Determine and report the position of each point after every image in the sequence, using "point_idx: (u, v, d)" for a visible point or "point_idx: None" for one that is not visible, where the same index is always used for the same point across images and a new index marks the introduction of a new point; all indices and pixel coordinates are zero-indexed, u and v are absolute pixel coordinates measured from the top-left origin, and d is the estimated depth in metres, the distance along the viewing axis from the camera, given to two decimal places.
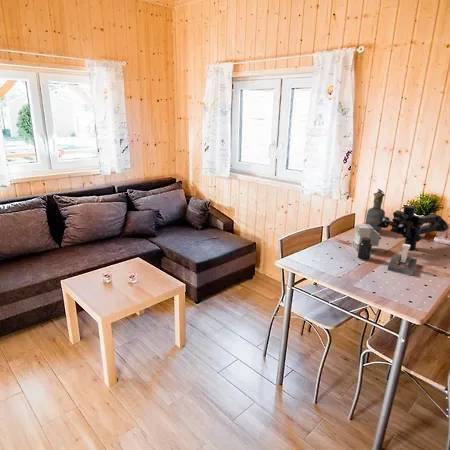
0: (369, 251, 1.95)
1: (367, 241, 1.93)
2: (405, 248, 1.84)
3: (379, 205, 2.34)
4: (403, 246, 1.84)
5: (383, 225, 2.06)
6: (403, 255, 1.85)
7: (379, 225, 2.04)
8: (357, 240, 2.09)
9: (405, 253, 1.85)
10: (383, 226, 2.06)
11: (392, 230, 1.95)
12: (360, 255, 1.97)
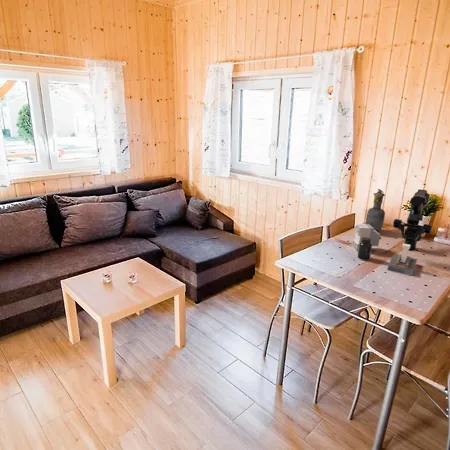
0: (369, 251, 1.95)
1: (367, 241, 1.93)
2: (405, 248, 1.84)
3: (379, 205, 2.34)
4: (403, 246, 1.84)
5: None
6: (403, 255, 1.85)
7: (403, 236, 1.93)
8: (357, 240, 2.09)
9: (405, 253, 1.85)
10: None
11: (416, 238, 1.89)
12: (360, 255, 1.97)
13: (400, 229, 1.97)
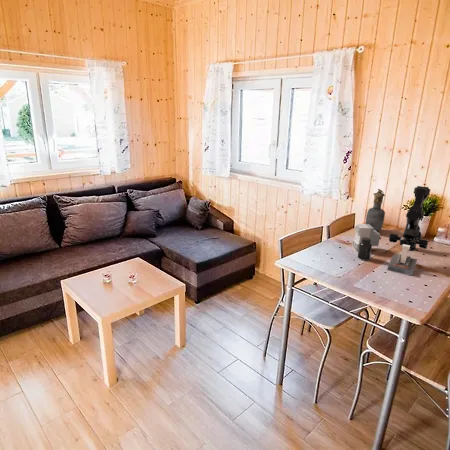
0: (369, 251, 1.95)
1: (367, 241, 1.93)
2: (405, 249, 1.83)
3: (379, 205, 2.34)
4: (403, 247, 1.83)
5: None
6: (403, 256, 1.85)
7: None
8: (357, 240, 2.09)
9: (405, 254, 1.84)
10: None
11: None
12: (360, 255, 1.97)
13: None
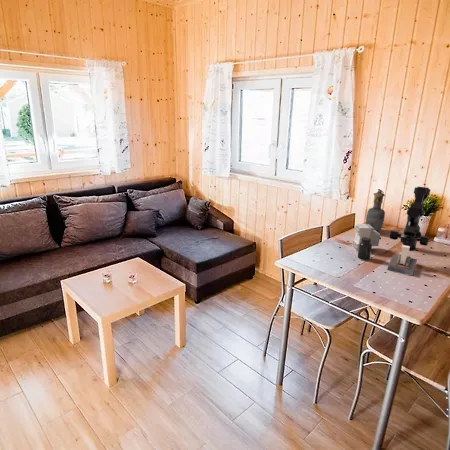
0: (369, 251, 1.95)
1: (367, 241, 1.93)
2: (404, 250, 1.82)
3: (379, 205, 2.34)
4: (402, 247, 1.82)
5: None
6: (402, 257, 1.83)
7: None
8: (357, 240, 2.09)
9: (404, 255, 1.83)
10: None
11: None
12: (360, 255, 1.97)
13: (402, 242, 1.92)
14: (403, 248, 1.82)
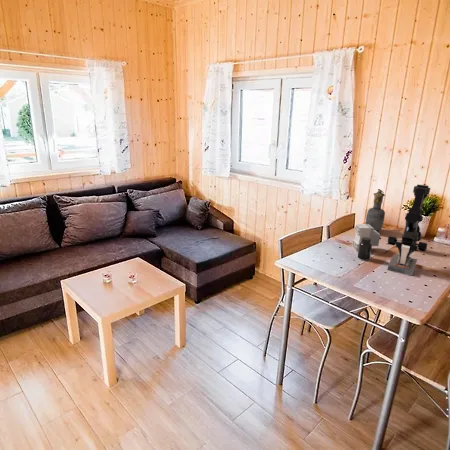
0: (369, 251, 1.95)
1: (367, 241, 1.93)
2: (404, 250, 1.82)
3: (379, 205, 2.34)
4: (402, 247, 1.82)
5: None
6: (402, 257, 1.83)
7: None
8: (357, 240, 2.09)
9: (404, 255, 1.83)
10: None
11: (408, 256, 1.83)
12: (360, 255, 1.97)
13: (397, 247, 1.89)
14: (403, 248, 1.82)
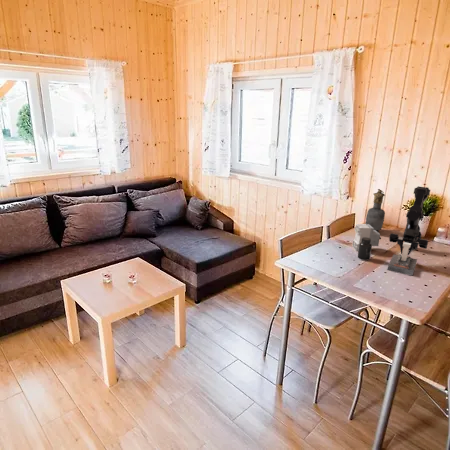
0: (369, 251, 1.95)
1: (367, 241, 1.93)
2: (406, 247, 1.86)
3: (379, 205, 2.34)
4: (404, 245, 1.86)
5: (402, 245, 1.91)
6: (404, 253, 1.87)
7: None
8: (357, 240, 2.09)
9: (406, 251, 1.87)
10: None
11: (409, 253, 1.87)
12: (360, 255, 1.97)
13: (399, 244, 1.93)
14: (404, 245, 1.86)
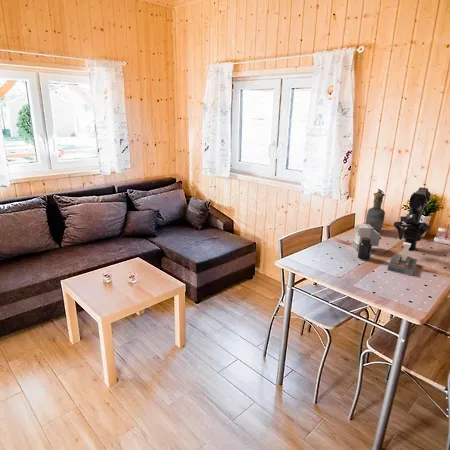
0: (369, 251, 1.95)
1: (367, 241, 1.93)
2: (406, 247, 1.86)
3: (379, 205, 2.34)
4: (404, 245, 1.86)
5: (402, 231, 2.00)
6: (404, 253, 1.87)
7: (401, 237, 1.99)
8: (357, 240, 2.09)
9: (406, 251, 1.87)
10: (403, 231, 2.01)
11: (417, 239, 1.90)
12: (360, 255, 1.97)
13: None
14: (404, 245, 1.86)
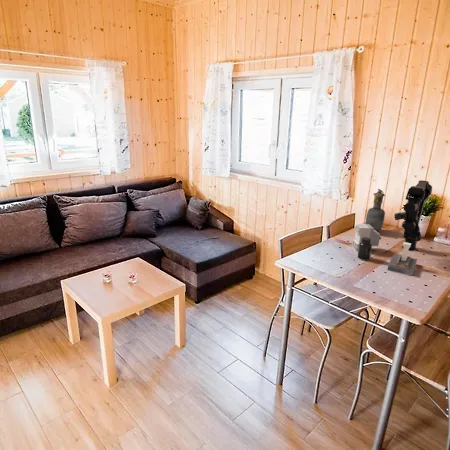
0: (369, 251, 1.95)
1: (367, 241, 1.93)
2: (406, 247, 1.86)
3: (379, 205, 2.34)
4: (404, 245, 1.86)
5: None
6: (404, 253, 1.87)
7: None
8: (357, 240, 2.09)
9: (406, 251, 1.87)
10: None
11: (406, 236, 1.94)
12: (360, 255, 1.97)
13: (415, 222, 2.00)
14: (404, 245, 1.86)
